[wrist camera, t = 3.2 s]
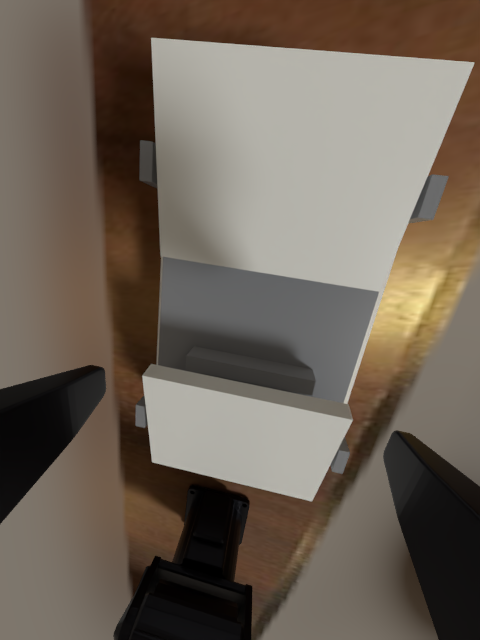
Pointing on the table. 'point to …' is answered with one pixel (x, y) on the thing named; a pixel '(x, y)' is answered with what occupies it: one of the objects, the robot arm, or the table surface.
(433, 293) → the table surface
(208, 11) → the table surface
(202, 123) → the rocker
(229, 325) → the box
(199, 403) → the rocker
